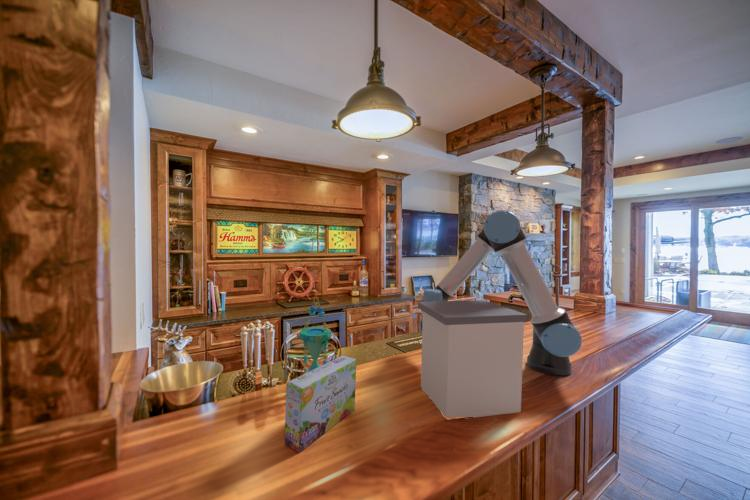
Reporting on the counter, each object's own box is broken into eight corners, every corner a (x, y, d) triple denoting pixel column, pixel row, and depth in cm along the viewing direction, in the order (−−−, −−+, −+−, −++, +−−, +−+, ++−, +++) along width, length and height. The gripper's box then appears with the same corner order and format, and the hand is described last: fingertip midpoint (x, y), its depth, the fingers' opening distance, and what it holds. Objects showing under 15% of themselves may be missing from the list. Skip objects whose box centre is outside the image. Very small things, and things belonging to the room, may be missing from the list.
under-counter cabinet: (482, 378, 106) (485, 300, 105) (523, 411, 85) (527, 314, 85) (415, 384, 101) (417, 301, 100) (442, 421, 80) (445, 317, 79)
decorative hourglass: (338, 385, 99) (339, 295, 98) (318, 401, 89) (320, 301, 88) (311, 378, 103) (312, 292, 102) (289, 392, 93) (291, 297, 93)
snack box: (300, 455, 66) (301, 388, 66) (283, 445, 69) (284, 381, 69) (356, 410, 84) (357, 357, 84) (340, 404, 87) (341, 353, 87)
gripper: (467, 345, 112) (506, 371, 90) (415, 348, 108) (442, 376, 85) (468, 325, 112) (507, 346, 89) (415, 327, 107) (442, 350, 85)
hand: (475, 360), depth 87 cm, fingers closed on orange juice, 8 cm apart
